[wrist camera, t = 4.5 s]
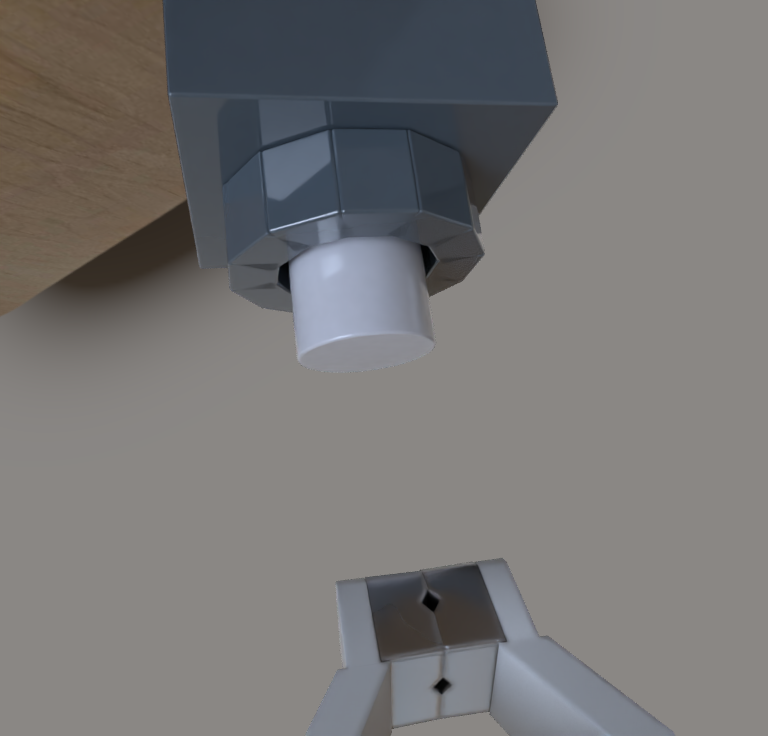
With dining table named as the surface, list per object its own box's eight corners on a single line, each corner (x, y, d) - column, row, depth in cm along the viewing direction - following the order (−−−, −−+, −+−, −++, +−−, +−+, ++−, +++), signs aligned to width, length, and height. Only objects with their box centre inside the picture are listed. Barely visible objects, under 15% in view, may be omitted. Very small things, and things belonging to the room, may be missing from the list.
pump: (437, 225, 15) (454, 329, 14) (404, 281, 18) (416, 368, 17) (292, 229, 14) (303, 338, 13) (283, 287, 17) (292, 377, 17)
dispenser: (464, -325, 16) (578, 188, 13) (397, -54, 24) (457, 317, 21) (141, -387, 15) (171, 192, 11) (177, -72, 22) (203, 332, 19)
